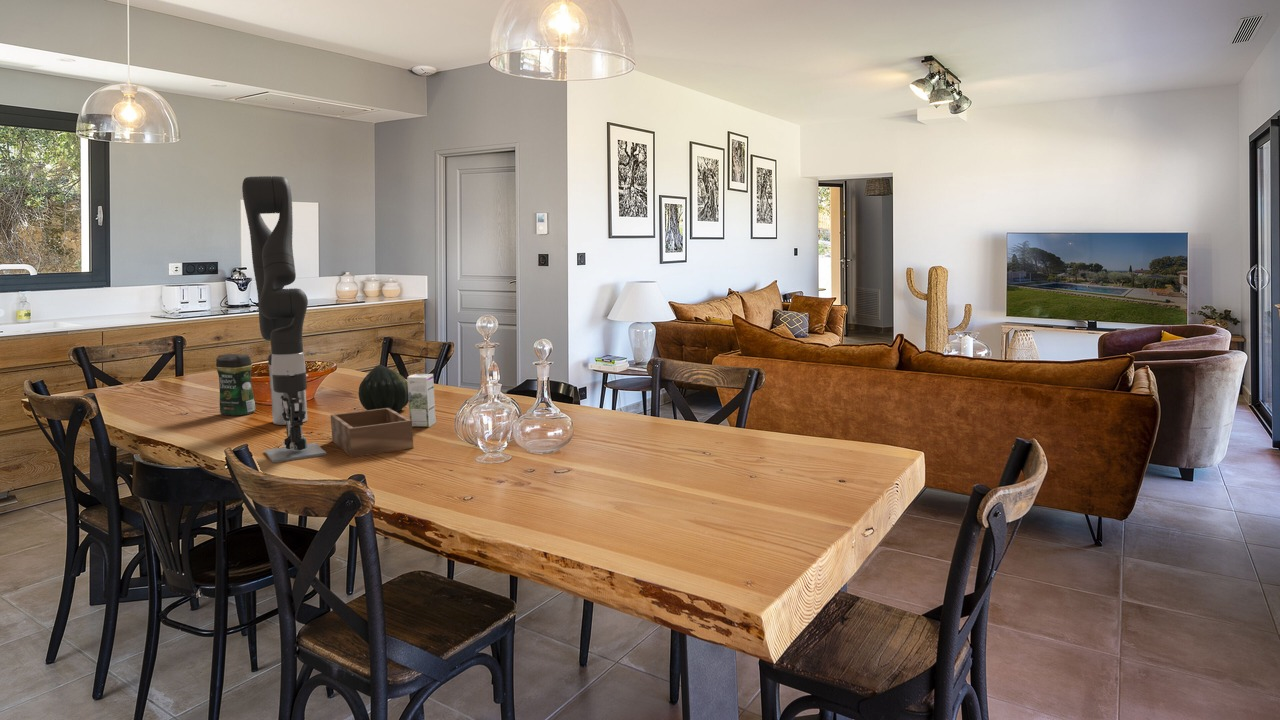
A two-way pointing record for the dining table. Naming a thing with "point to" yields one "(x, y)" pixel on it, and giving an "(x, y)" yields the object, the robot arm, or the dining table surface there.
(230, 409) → the coffee jar
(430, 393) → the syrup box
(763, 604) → the dining table surface
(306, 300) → the robot arm
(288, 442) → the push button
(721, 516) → the dining table surface
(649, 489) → the dining table surface
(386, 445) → the walnut box frame
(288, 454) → the slate pad
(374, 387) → the squash
